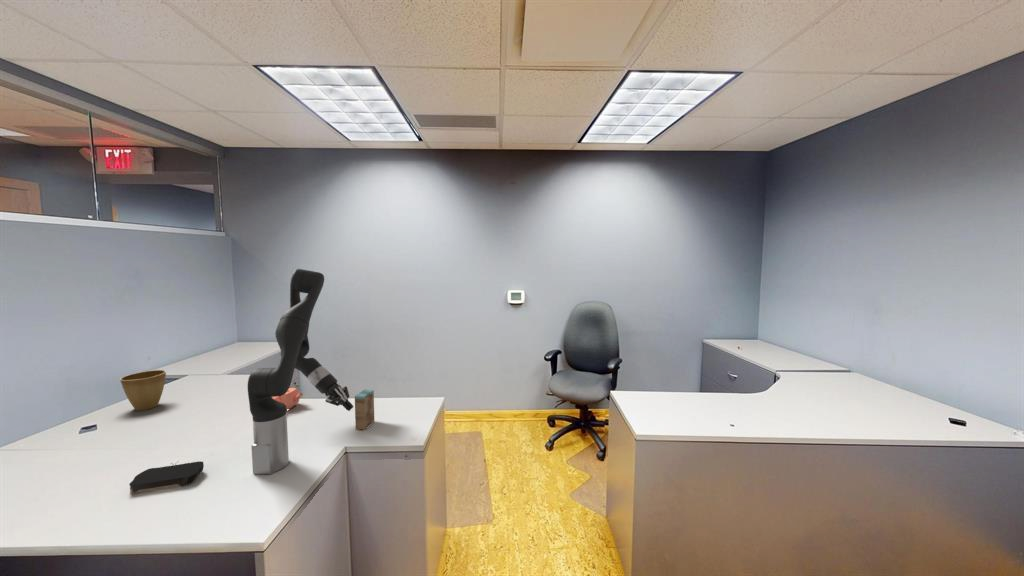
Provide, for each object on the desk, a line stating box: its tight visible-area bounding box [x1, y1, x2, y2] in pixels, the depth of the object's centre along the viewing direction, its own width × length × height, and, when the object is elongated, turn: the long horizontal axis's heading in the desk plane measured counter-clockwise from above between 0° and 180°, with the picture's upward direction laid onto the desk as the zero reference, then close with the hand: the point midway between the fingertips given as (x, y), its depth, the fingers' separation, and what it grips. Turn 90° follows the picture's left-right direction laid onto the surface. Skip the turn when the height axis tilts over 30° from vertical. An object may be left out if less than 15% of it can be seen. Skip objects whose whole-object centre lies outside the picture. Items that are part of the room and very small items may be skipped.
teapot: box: [272, 387, 304, 410], centre depth 163 cm, size 12×12×10 cm
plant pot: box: [119, 369, 167, 411], centre depth 164 cm, size 15×15×16 cm
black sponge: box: [128, 461, 205, 495], centre depth 107 cm, size 16×8×4 cm, turn 107°
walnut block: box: [354, 389, 375, 431], centre depth 145 cm, size 8×4×14 cm, turn 175°
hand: (351, 408), depth 145 cm, fingers closed
